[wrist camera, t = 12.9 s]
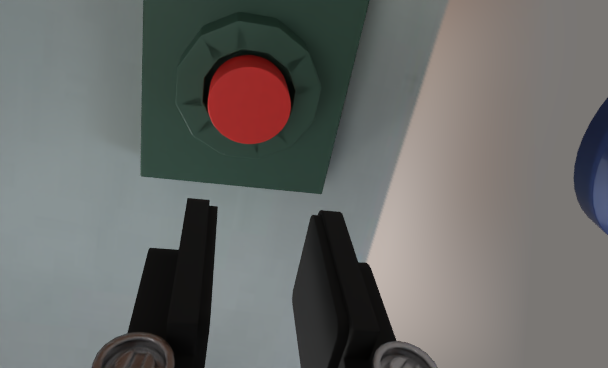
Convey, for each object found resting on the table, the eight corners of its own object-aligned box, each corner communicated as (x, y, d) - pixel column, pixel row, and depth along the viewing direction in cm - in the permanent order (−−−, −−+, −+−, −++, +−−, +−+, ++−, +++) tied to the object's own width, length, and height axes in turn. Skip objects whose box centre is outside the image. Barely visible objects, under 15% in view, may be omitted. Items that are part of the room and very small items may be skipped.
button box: (316, 175, 29) (326, 212, 26) (146, 157, 27) (133, 194, 24) (365, -36, 23) (387, -24, 20) (152, -79, 21) (136, -74, 18)
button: (280, 132, 23) (283, 148, 22) (206, 123, 22) (204, 139, 21) (293, 61, 21) (297, 73, 20) (213, 48, 21) (211, 60, 19)
